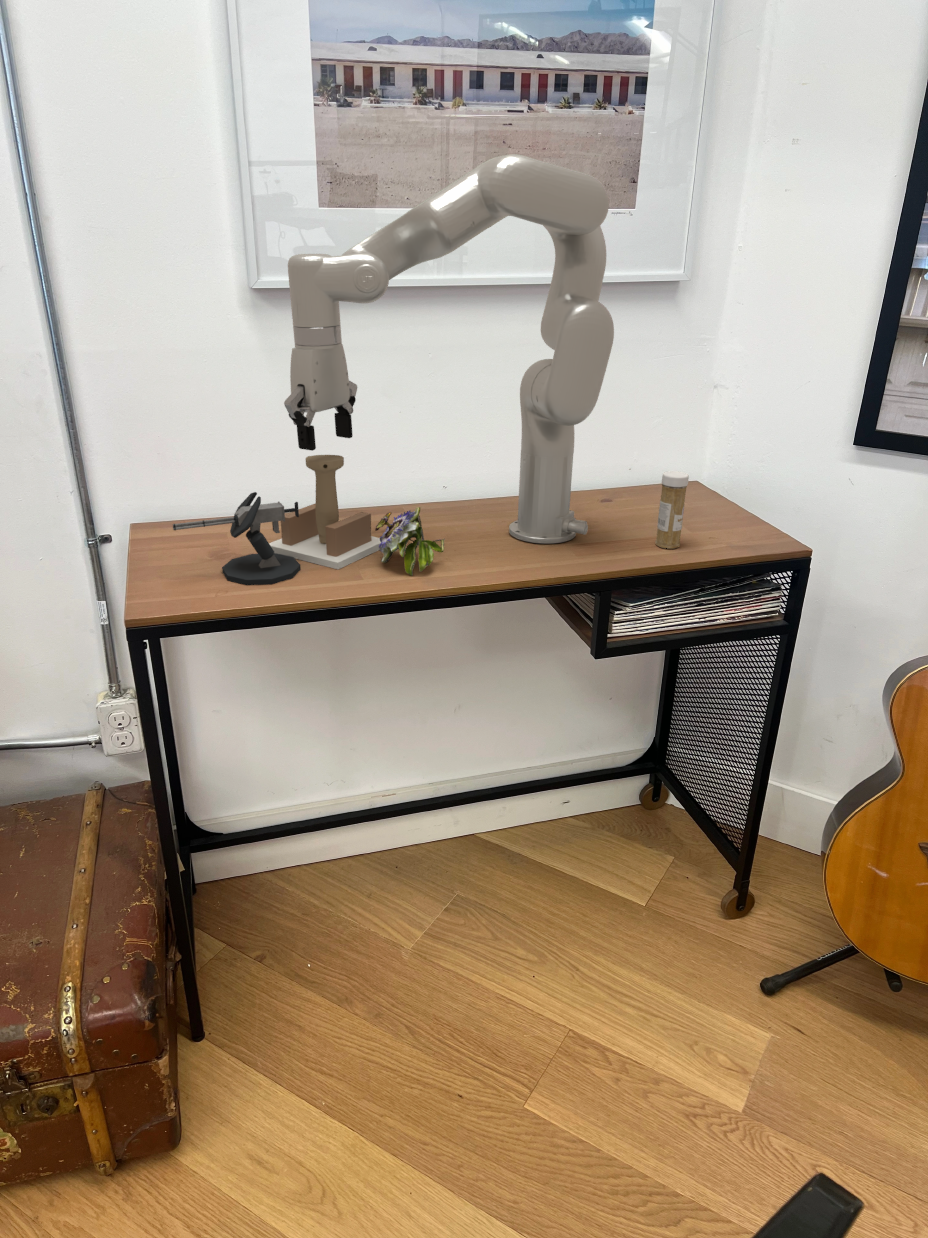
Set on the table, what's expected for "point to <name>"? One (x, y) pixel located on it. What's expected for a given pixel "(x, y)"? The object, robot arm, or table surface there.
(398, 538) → the passion flower
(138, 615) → the table surface
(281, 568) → the gun turret
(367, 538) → the white base with blocks
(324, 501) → the handle
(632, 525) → the table surface
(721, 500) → the table surface
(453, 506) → the table surface
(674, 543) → the sprinkles bottle
